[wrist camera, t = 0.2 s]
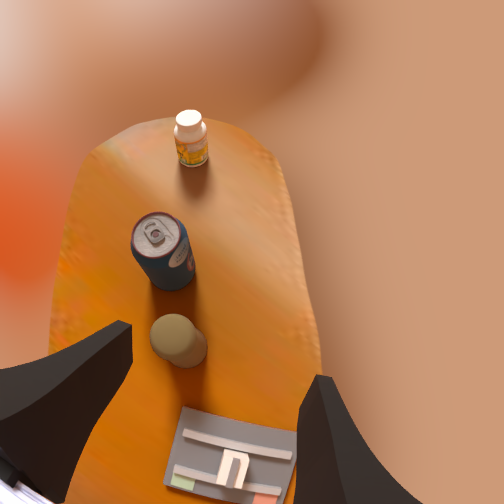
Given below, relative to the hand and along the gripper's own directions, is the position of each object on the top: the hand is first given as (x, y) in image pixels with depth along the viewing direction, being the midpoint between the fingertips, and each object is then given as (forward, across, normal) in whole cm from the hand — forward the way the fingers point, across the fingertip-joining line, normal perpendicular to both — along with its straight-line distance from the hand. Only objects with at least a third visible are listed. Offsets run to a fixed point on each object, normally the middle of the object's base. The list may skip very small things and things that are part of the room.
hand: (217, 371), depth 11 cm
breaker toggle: (+12, -3, +29) cm, 31 cm away
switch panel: (+13, -3, +30) cm, 33 cm away
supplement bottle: (+45, +16, -1) cm, 48 cm away
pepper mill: (+23, +7, +20) cm, 31 cm away
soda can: (+30, +12, +14) cm, 35 cm away
